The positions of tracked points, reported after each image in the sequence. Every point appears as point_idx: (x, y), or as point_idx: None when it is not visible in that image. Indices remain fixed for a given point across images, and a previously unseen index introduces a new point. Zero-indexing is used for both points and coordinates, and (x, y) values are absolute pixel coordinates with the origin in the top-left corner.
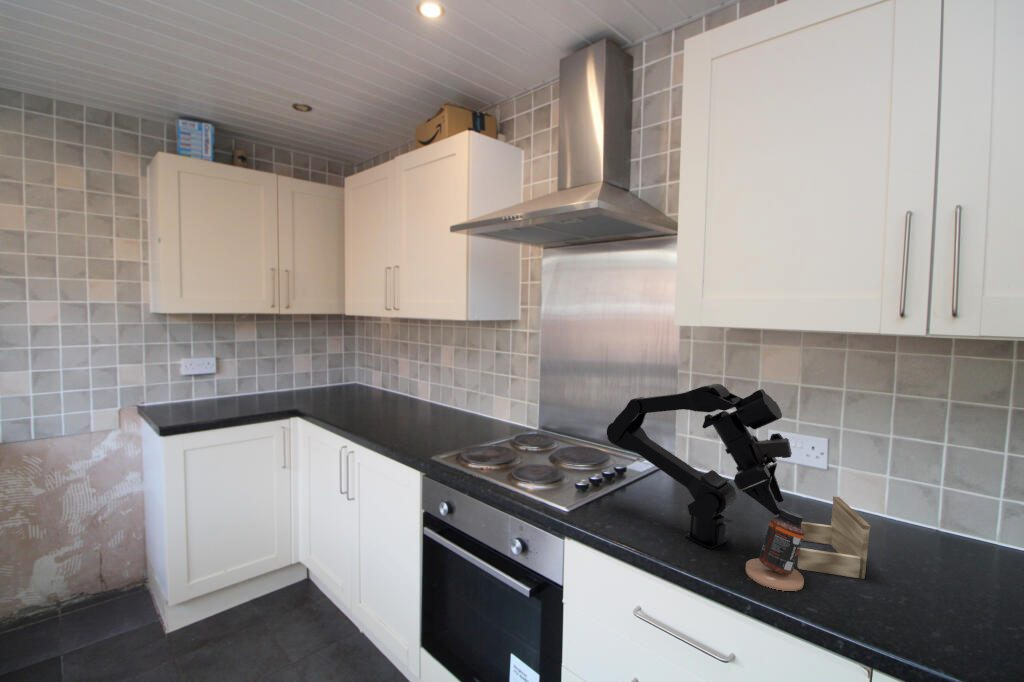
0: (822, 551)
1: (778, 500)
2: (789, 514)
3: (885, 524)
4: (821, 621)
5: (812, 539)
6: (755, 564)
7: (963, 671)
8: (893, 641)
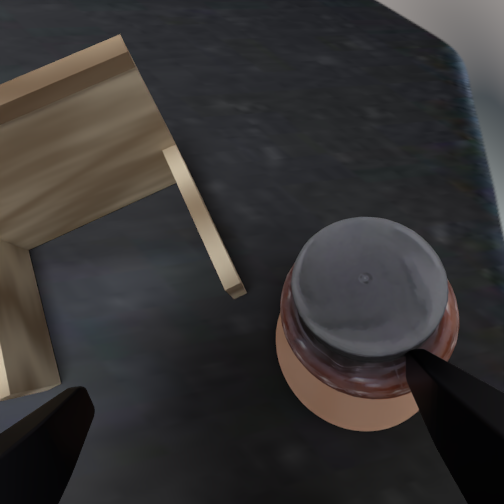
0: (201, 228)
1: (85, 419)
2: (446, 277)
3: None
4: (474, 208)
5: (32, 292)
6: (355, 401)
7: (418, 29)
8: (420, 103)
